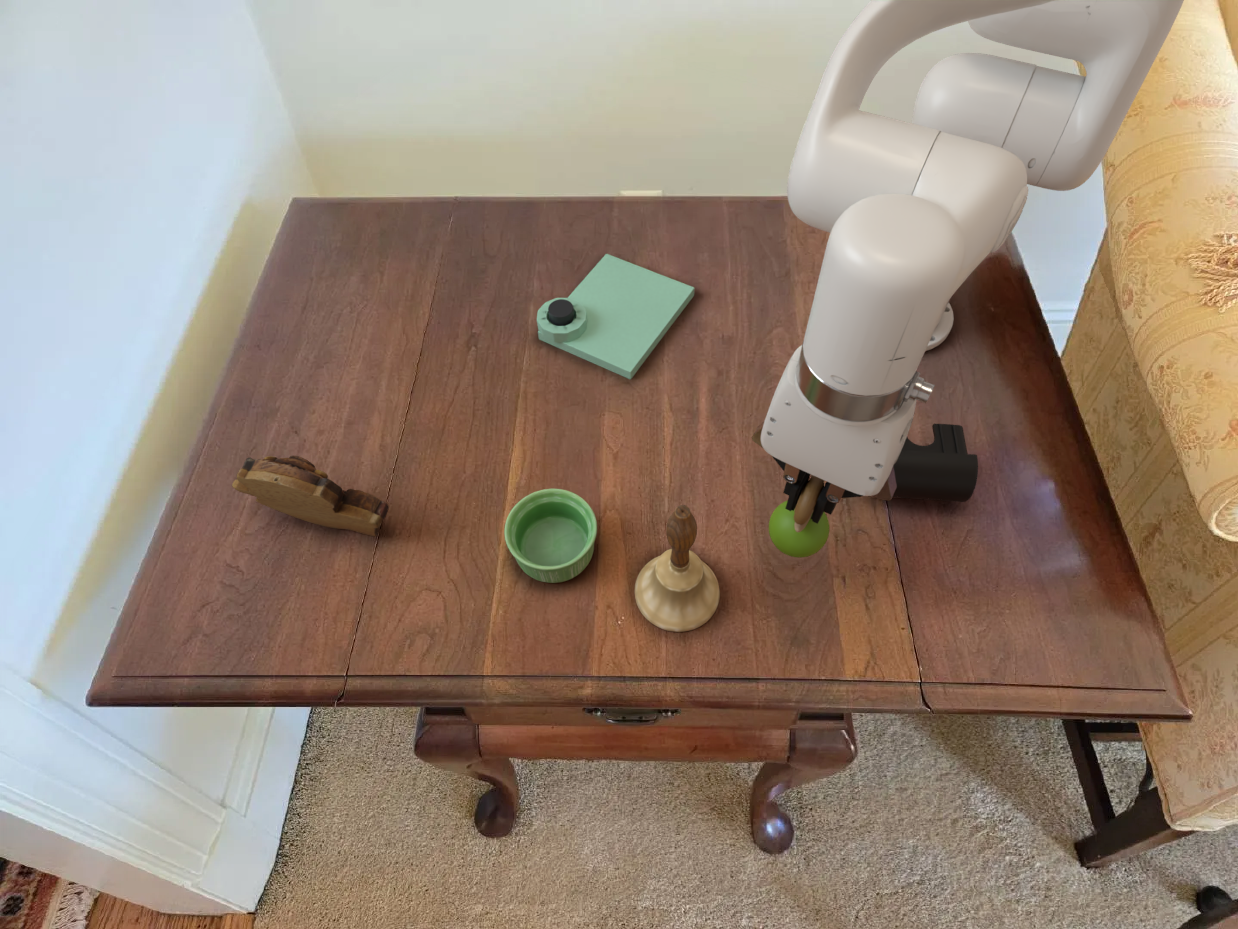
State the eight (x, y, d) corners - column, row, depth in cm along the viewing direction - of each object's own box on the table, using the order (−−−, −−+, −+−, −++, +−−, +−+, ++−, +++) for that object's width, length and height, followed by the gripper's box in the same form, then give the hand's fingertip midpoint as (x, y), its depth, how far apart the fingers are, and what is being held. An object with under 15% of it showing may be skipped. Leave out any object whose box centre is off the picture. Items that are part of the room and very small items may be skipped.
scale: (600, 259, 103) (599, 241, 100) (694, 295, 98) (695, 277, 96) (530, 339, 95) (527, 321, 92) (628, 382, 91) (628, 365, 88)
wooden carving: (406, 511, 82) (379, 458, 73) (390, 549, 79) (361, 498, 71) (263, 486, 84) (221, 431, 75) (243, 522, 81) (197, 470, 73)
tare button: (558, 305, 94) (557, 295, 93) (579, 313, 93) (578, 304, 92) (544, 320, 93) (543, 311, 92) (565, 329, 92) (564, 320, 91)
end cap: (860, 509, 80) (876, 473, 75) (855, 453, 84) (870, 415, 79) (959, 516, 80) (983, 481, 74) (949, 459, 84) (971, 421, 78)
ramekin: (515, 509, 81) (509, 487, 78) (601, 511, 81) (599, 488, 77) (505, 588, 76) (498, 568, 73) (596, 590, 76) (594, 570, 72)
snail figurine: (832, 520, 75) (863, 451, 64) (812, 576, 72) (842, 513, 61) (778, 499, 76) (801, 429, 66) (756, 554, 73) (776, 489, 63)
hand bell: (713, 639, 73) (729, 563, 60) (627, 623, 74) (623, 545, 61) (724, 561, 77) (741, 474, 64) (643, 547, 78) (643, 459, 65)
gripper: (986, 375, 52) (909, 510, 68) (770, 294, 57) (745, 437, 72) (950, 457, 49) (878, 579, 64) (725, 363, 53) (708, 497, 69)
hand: (808, 503), depth 68 cm, fingers closed on snail figurine
